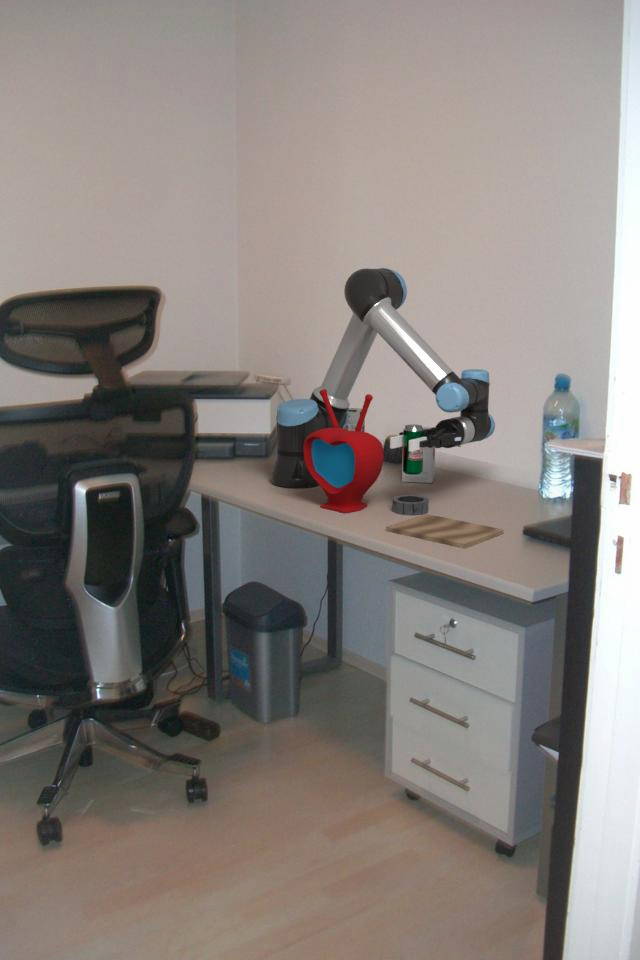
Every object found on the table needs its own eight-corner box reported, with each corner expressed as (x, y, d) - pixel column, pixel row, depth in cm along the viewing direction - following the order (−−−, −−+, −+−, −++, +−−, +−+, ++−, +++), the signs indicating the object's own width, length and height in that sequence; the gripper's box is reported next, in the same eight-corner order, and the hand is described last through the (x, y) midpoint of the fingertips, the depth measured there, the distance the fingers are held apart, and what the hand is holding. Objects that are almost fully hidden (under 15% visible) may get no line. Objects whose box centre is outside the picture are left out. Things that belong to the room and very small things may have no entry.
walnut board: (386, 530, 224) (386, 526, 224) (425, 517, 235) (426, 513, 235) (465, 548, 209) (465, 544, 209) (503, 533, 221) (503, 529, 221)
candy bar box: (365, 458, 309) (365, 408, 306) (361, 461, 305) (362, 410, 301) (332, 456, 312) (332, 406, 309) (327, 459, 308) (327, 409, 304)
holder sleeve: (385, 511, 242) (385, 499, 241) (406, 504, 248) (406, 493, 248) (414, 517, 236) (414, 505, 235) (435, 510, 242) (435, 498, 242)
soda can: (409, 475, 236) (410, 428, 233) (398, 472, 240) (399, 425, 238) (426, 473, 238) (427, 426, 236) (415, 470, 243) (416, 423, 240)
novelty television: (299, 504, 249) (298, 390, 242) (333, 496, 258) (333, 385, 251) (358, 518, 234) (359, 397, 228) (392, 509, 243) (393, 392, 237)
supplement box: (432, 483, 272) (433, 432, 269) (401, 482, 274) (402, 431, 271) (435, 477, 281) (436, 427, 278) (405, 475, 283) (405, 426, 280)
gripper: (482, 450, 246) (430, 464, 229) (425, 442, 257) (371, 454, 240) (483, 421, 244) (431, 433, 227) (426, 414, 256) (372, 425, 239)
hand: (400, 444), depth 234 cm, fingers closed on soda can, 5 cm apart
